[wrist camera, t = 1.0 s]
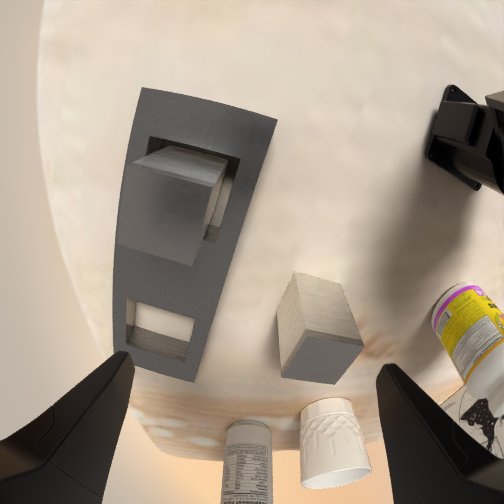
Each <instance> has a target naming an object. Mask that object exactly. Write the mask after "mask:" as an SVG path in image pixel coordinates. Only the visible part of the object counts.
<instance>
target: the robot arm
mask: <svg viewBox="0 0 504 504" xmlns="http://www.w3.org/2000/svg"><path fill="white" fill-rule="evenodd" d="M452 89H453V91H454V93H452ZM485 99H486V102H487V105H480V104H477V103H476V102H475V101H474V100H473V99H471V98H470V97H469V96H468V95H467V94H465V93H464V92H463V91H462V90H460V89H459V88H458V87H457V86H455V85H448V86H447V88H446V91H445V95H444V98H443V101H442V102H441V105H440V108H439V111H438V114H437V117H436V120H435V123H434V126H433V129H432V131H433V132H432V135H431V138H430V141H429V143H428V146H427V149H426V152H425V156H426V158H427V159H428V160H429V161H431V162H432V163H434V164H436V165H437V166H439V167H441V168H442V169H444V170H445V171H447V172H448V173H450V174H451V175H453V176H454V177H456V178H457V179H459V180H460V181H462V182H463V183H465V184H466V185H468V186H469V187H470V188H472V189H473V190H475V191H478V190H479V189H480V188H481V185H482V184H483V185H485V186H487V187H489V188H491V189H493V190H495V191H497V192H499V193H500V194H502V195H504V91H501V92H498V93H494V94H491V95H487V96H485ZM431 152H433V156H432V157H431ZM475 184H476V186H475ZM134 373H135V367H134V364H133V361H132V358H131V355H130V353H129V352H126V351H117V352H116V353H115V354H113V355H112V356H111V357H110V358H108V359H107V360H106V361H105V362H104V363H102V364H101V365H100V366H99V367H98V368H96V369H95V370H94V371H93V372H92V373H90V374H89V375H88V376H87V377H85V378H84V379H83V380H82V381H81V382H80V383H78V384H77V385H76V386H75V387H74V388H72V389H71V390H70V391H69V392H67V393H66V394H65V395H64V396H63V397H61V398H60V399H59V400H58V401H57V402H55V404H54V405H53V406H51V407H50V408H48V409H47V410H46V411H45V412H43V413H42V414H41V415H40V416H38V417H37V418H36V419H34V420H33V421H31V422H30V423H29V424H27V425H26V426H24V427H23V428H21V429H19V430H18V431H16V432H15V433H13V434H12V435H10V436H9V437H7V438H5V439H3V440H1V441H0V504H102V500H103V495H104V491H105V487H106V483H107V478H108V475H109V471H110V467H111V463H112V459H113V456H114V452H115V449H116V445H117V442H118V438H119V435H120V431H121V428H122V425H123V421H124V418H125V415H126V412H127V408H128V403H129V398H130V393H131V388H132V383H133V378H134ZM376 388H377V397H378V407H379V416H380V423H381V428H382V433H383V438H384V443H385V448H386V453H387V459H388V466H389V472H390V479H391V485H392V493H393V500H394V504H504V459H502V458H499V457H497V456H495V455H494V454H493V453H491V452H490V451H489V450H488V449H486V448H485V447H484V446H482V445H481V444H480V443H479V442H477V441H476V440H475V439H474V438H473V437H471V436H470V435H469V434H468V433H467V432H466V431H465V430H464V429H463V428H461V427H460V426H459V425H458V424H457V423H456V422H455V421H454V420H453V419H452V418H451V417H450V416H449V415H448V414H447V413H446V412H445V411H444V410H443V409H442V408H441V407H440V406H439V405H438V404H437V403H436V402H435V401H434V400H433V399H432V398H431V397H430V396H429V395H428V394H427V393H425V392H424V391H423V390H422V389H421V388H420V387H419V386H418V385H417V384H416V383H415V382H414V381H413V380H412V379H411V378H410V377H409V376H408V375H407V374H406V373H405V372H404V371H403V370H402V369H400V368H399V367H398V366H397V365H396V364H394V363H390V364H385V365H383V367H382V369H381V371H380V373H379V374H378V376H377V379H376Z"/></svg>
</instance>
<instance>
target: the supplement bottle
mask: <svg viewBox="0 0 504 504" xmlns="http://www.w3.org/2000/svg"><path fill="white" fill-rule="evenodd" d="M432 328H433V330H434V332H435V333H436V335H437V337H438V338H439V340H440V342H441V343H442V345H443V347H444V348H445V350H446V352H447V353H448V355H449V357H450V359H451V360H452V362H453V364H454V366H455V367H456V369H457V371H458V373H459V375H460V377H461V378H462V380H463V382H464V384H465V386H466V388H467V390H468V392H469V394H470V395H471V396H472V397H474V398H476V399H484V398H487V400H488V401H489V402H488V405H489V409H490V411H491V413H492V415H493V417H495V418H496V417H499V416H501V415H503V414H504V314H503V313H502V312H501V311H500V310H499V309H498V307H497V306H496V305H495V304H494V303H493V302H492V300H491V299H490V298H489V297H488V296H487V295H486V294H485V293H484V292H483V290H482V289H481V288H480V287H479V286H477V285H476V284H475V283H472V282H463V283H460V284H458V285H456V286H454V287H453V288H451V289H450V290H449V291H448V292H447V293H446V294H445V295H444V296H443V297H442V298H441V299H440V300H439V302H438V303H437V305H436V307H435V309H434V311H433V314H432Z"/></svg>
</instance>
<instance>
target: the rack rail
mask: <svg viewBox="0 0 504 504" xmlns="http://www.w3.org/2000/svg"><path fill="white" fill-rule="evenodd" d="M276 123H277V119H274V118H271V117H268V116H264V115H261V114H258V113H255V112H251V111H248V110H244V109H241V108H237V107H233V106H230V105H226V104H222V103H218V102H214V101H210V100H206V99H201V98H197V97H192V96H187V95H183V94H178V93H172V92H167V91H161V90H156V89H149V88H143V87H142V89H141V93H140V96H139V100H138V104H137V108H136V112H135V116H134V121H133V125H132V130H131V134H130V139H129V144H128V149H127V154H126V160H125V166H124V172H123V178H122V185H121V192H120V199H119V207H118V216H117V226H116V237H115V250H114V267H113V347H114V354H115V353H116V352H117V351H126V352H129V353H130V355H131V358H132V361H133V364H134V365H135V366H138V367H141V368H144V369H147V370H151V371H154V372H157V373H161V374H164V375H167V376H171V377H174V378H178V379H182V380H185V381H189V382H193V383H194V380H195V377H196V374H197V370H198V367H199V364H200V360H201V357H202V354H203V350H204V347H205V344H206V340H207V337H208V334H209V330H210V327H211V324H212V321H213V317H214V314H215V311H216V308H217V304H218V301H219V298H220V295H221V292H222V288H223V285H224V282H225V279H226V276H227V272H228V269H229V266H230V263H231V260H232V257H233V253H234V250H235V247H236V244H237V241H238V238H239V235H240V232H241V229H242V225H243V222H244V219H245V216H246V213H247V210H248V207H249V204H250V201H251V198H252V195H253V192H254V189H255V186H256V183H257V180H258V177H259V174H260V171H261V168H262V165H263V162H264V159H265V156H266V153H267V150H268V147H269V144H270V141H271V138H272V135H273V132H274V129H275V126H276ZM161 138H163V139H167V140H172V141H176V142H180V143H184V144H188V145H192V146H196V147H200V148H204V149H208V150H211V151H215V152H219V153H222V154H226V155H230V156H233V157H236V158H240V159H241V160H240V163H239V166H238V170H237V173H236V176H235V179H234V183H233V186H232V189H231V193H230V196H229V199H228V203H227V206H226V209H225V213H224V216H223V220H222V223H221V227H220V228H219V227H216V226H212V225H209V226H208V228H207V231H206V233H205V236H204V238H203V241H202V243H201V246H200V248H199V251H198V253H197V256H196V258H195V261H194V264H193V266H190V265H186V264H183V263H179V262H176V261H172V260H169V259H166V258H162V257H159V256H156V255H152V254H149V253H146V252H142V251H139V250H136V249H132V248H129V247H126V246H123V245H119V244H117V236H118V225H119V216H120V207H121V200H122V192H123V185H124V179H125V173H126V167H127V165H128V164H130V163H132V162H134V161H136V160H139V159H141V158H143V157H145V156H147V155H149V154H152V153H154V152H156V151H158V150H159V146H160V142H161ZM136 301H139V302H142V303H145V304H148V305H151V306H155V307H158V308H161V309H164V310H168V311H171V312H174V313H178V314H181V315H185V316H188V317H192V318H195V323H194V327H193V331H192V335H191V339H190V343H189V342H185V341H182V340H178V339H175V338H171V337H168V336H165V335H161V334H158V333H155V332H152V331H148V330H145V329H142V328H139V327H136V326H134V324H135V308H136Z"/></svg>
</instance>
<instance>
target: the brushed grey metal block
mask: <svg viewBox="0 0 504 504" xmlns="http://www.w3.org/2000/svg"><path fill="white" fill-rule="evenodd" d="M277 320H278V334H279V348H280V363H281V377H284V378H290V379H296V380H303V381H310V382H317V383H325V384H334V385H335V384H336V382H337V381H338V380H339V379H340V378H341V376H342V375H343V374H344V373H345V371H346V370H347V369H348V368H349V366H350V365H351V364H352V363H353V361H354V360H355V359H356V357H357V356H358V355H359V354H360V352H361V351H362V350H363V348H364V347H365V346H364V343H363V341H362V338H361V335H360V332H359V330H358V327H357V324H356V322H355V319H354V317H353V314H352V312H351V309H350V306H349V304H348V301H347V299H346V296H345V294H344V291H343V289H342V287H341V284H339V283H335V282H331V281H328V280H324V279H321V278H317V277H313V276H310V275H306V274H303V273H299V272H294V274H293V276H292V279H291V281H290V283H289V285H288V287H287V290H286V292H285V294H284V296H283V298H282V300H281V303H280V305H279V307H278V309H277Z"/></svg>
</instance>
